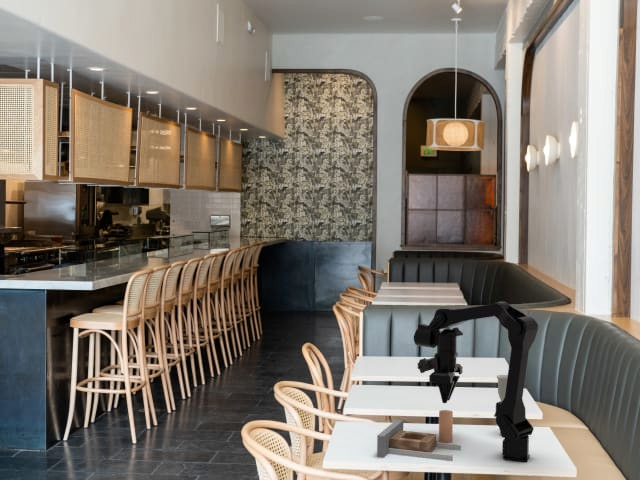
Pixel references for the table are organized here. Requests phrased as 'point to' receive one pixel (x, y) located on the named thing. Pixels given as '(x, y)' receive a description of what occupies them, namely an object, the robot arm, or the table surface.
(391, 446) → the socket block
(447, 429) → the dowel
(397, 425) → the backstop
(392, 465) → the table surface
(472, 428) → the table surface
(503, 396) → the chalice
